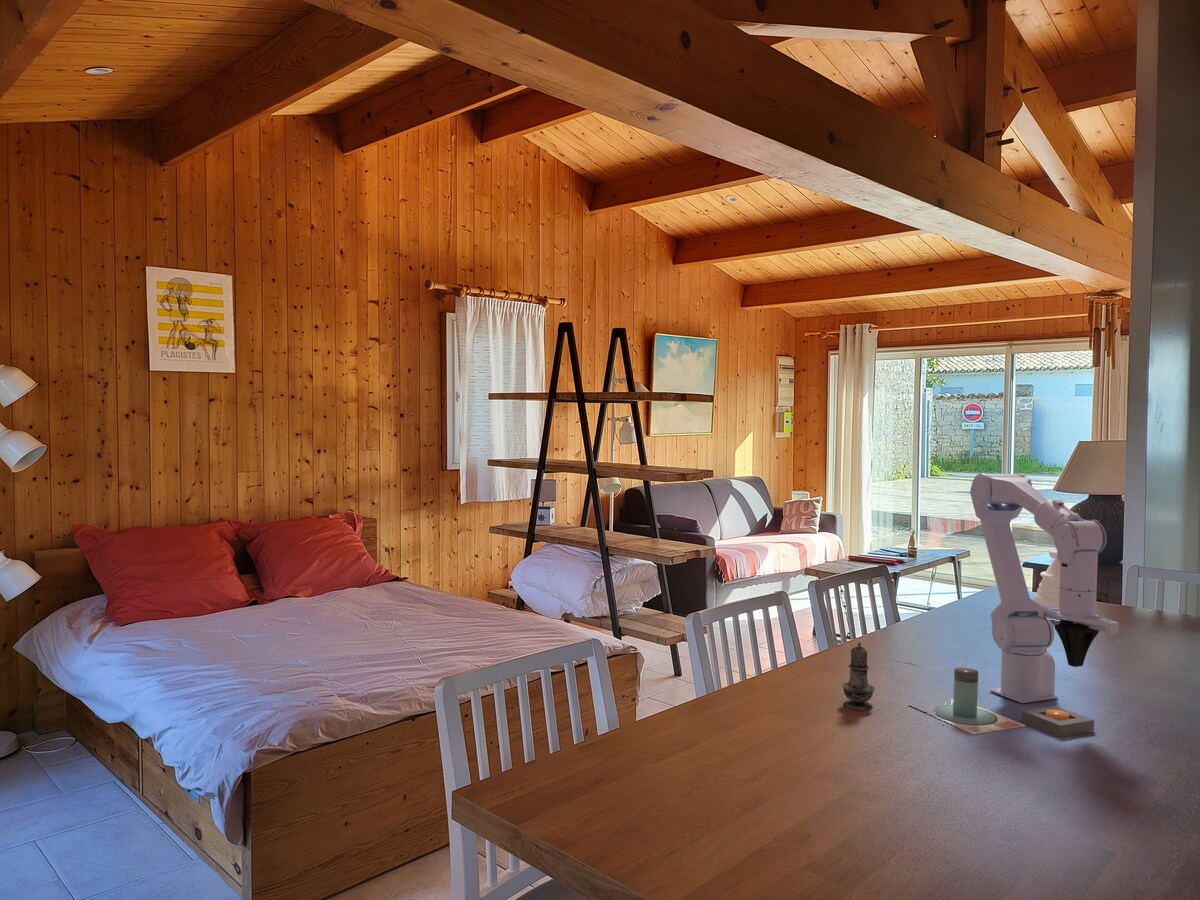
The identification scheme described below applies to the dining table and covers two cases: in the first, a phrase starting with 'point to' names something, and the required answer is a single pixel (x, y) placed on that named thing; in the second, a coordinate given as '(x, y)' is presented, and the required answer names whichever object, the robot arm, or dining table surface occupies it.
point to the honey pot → (1049, 584)
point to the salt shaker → (858, 681)
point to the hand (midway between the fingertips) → (1075, 665)
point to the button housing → (1057, 722)
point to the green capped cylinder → (965, 692)
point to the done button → (1057, 714)
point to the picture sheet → (976, 720)
